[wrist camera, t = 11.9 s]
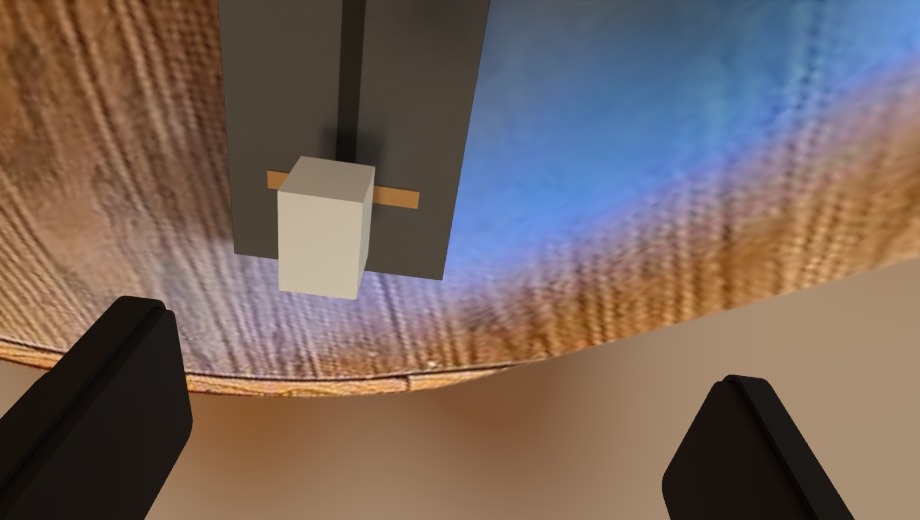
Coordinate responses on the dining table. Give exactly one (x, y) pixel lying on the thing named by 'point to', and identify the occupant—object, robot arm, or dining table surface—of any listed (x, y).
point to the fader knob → (324, 227)
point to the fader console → (352, 113)
